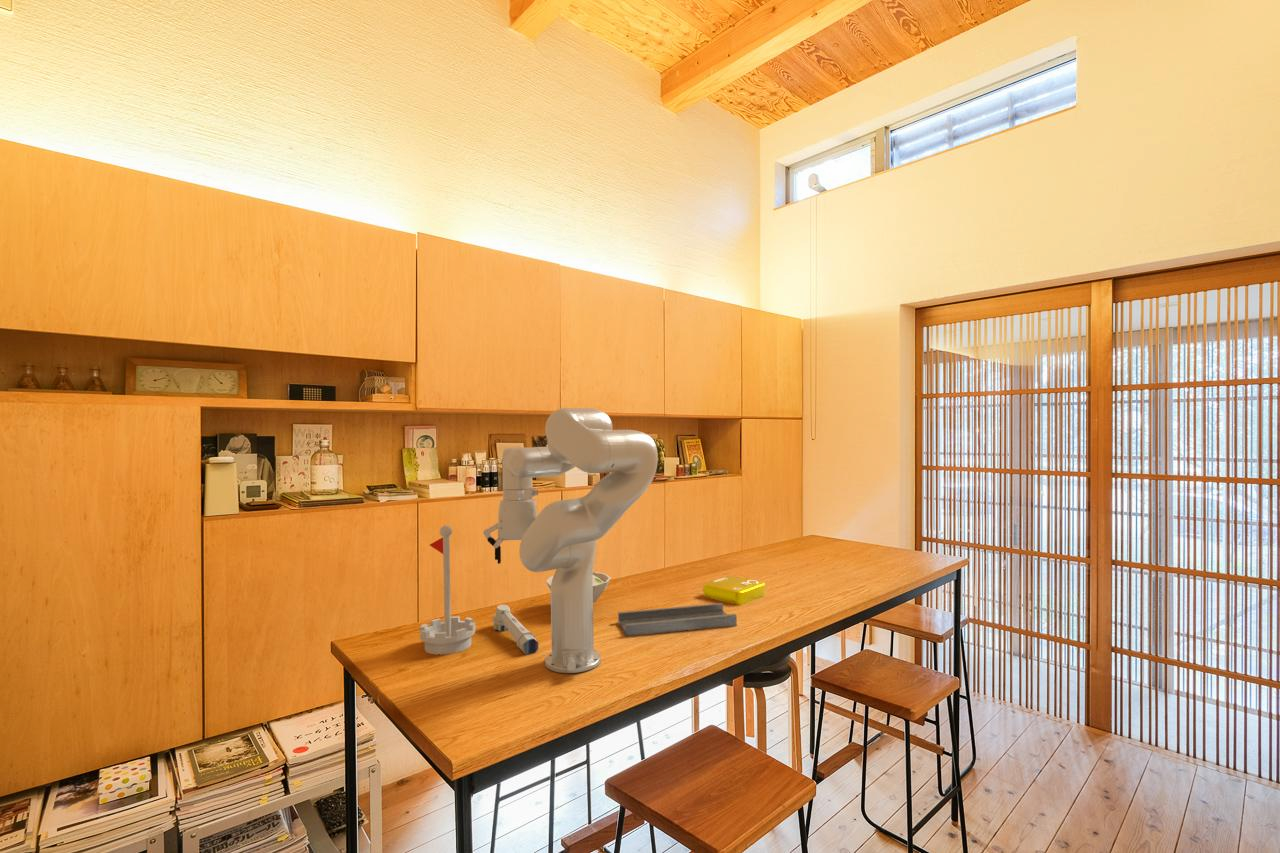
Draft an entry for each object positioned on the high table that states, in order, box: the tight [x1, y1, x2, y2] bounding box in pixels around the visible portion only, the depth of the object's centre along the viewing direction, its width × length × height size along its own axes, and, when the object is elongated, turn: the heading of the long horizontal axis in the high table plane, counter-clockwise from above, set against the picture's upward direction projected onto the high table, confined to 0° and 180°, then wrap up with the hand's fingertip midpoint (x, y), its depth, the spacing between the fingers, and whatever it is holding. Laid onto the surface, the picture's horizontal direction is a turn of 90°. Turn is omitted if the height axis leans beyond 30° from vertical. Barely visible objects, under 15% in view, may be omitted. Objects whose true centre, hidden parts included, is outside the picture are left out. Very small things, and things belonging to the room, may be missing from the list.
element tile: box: [702, 575, 766, 606], centre depth 184 cm, size 15×15×5 cm
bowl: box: [545, 571, 612, 604], centre depth 173 cm, size 19×19×10 cm
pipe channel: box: [617, 602, 738, 638], centre depth 158 cm, size 11×30×3 cm, turn 103°
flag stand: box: [419, 524, 476, 656], centre depth 145 cm, size 13×13×30 cm
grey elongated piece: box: [491, 604, 539, 655], centre depth 150 cm, size 5×7×25 cm
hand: (518, 561), depth 151 cm, fingers open, 9 cm apart
